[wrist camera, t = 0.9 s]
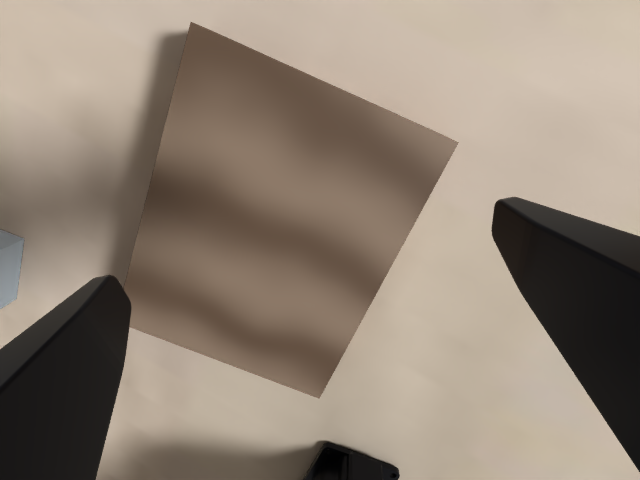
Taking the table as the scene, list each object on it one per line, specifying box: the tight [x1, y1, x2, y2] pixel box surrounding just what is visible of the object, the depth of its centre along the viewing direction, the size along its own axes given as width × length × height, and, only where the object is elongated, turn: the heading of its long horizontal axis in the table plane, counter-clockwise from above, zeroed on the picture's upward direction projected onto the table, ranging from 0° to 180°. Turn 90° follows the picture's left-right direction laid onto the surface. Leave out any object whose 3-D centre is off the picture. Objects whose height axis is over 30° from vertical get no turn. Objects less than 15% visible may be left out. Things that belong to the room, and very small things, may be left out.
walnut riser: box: [124, 22, 459, 398], centre depth 23 cm, size 18×14×2 cm
